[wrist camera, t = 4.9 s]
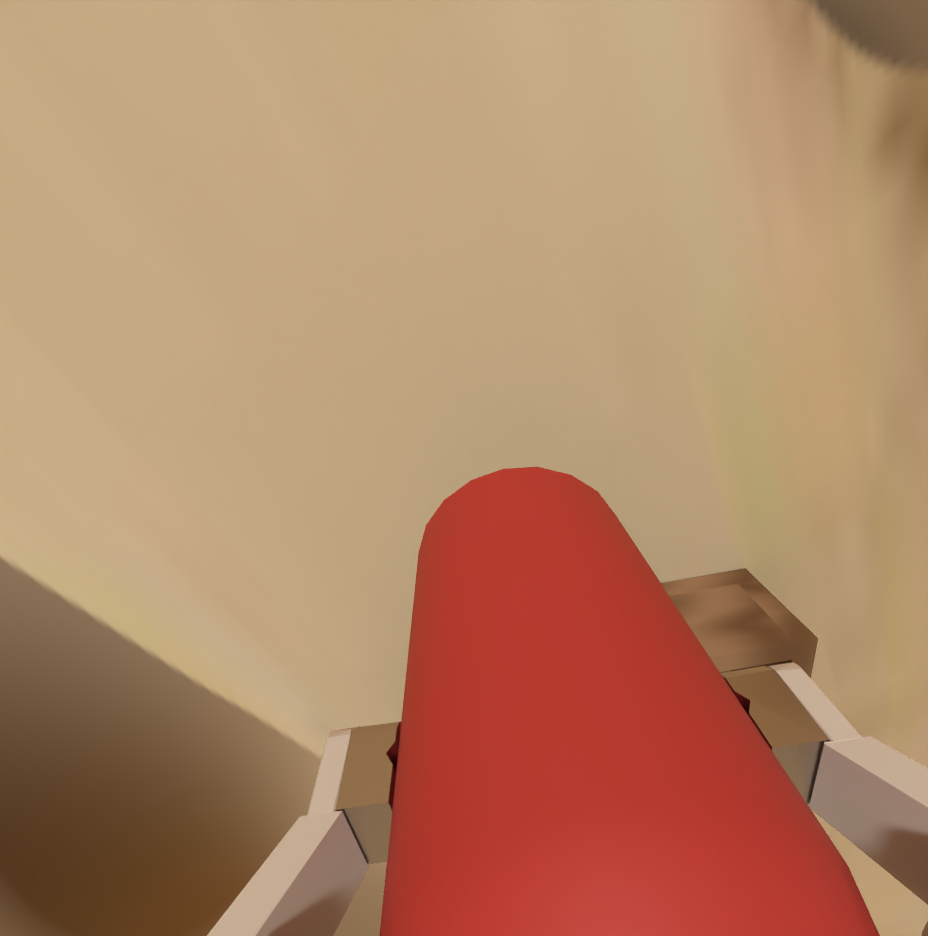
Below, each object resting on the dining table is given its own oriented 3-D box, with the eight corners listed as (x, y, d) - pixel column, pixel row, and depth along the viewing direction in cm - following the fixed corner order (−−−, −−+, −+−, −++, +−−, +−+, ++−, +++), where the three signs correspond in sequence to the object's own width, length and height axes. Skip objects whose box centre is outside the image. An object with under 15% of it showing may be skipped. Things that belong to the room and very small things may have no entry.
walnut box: (745, 568, 24) (818, 638, 20) (727, 762, 31) (778, 849, 26) (447, 621, 24) (450, 702, 20) (491, 802, 31) (501, 895, 26)
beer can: (644, 575, 16) (1066, 1249, 5) (479, 649, 17) (534, 1327, 6) (566, 420, 14) (1056, 1076, 3) (380, 518, 15) (188, 1255, 4)
